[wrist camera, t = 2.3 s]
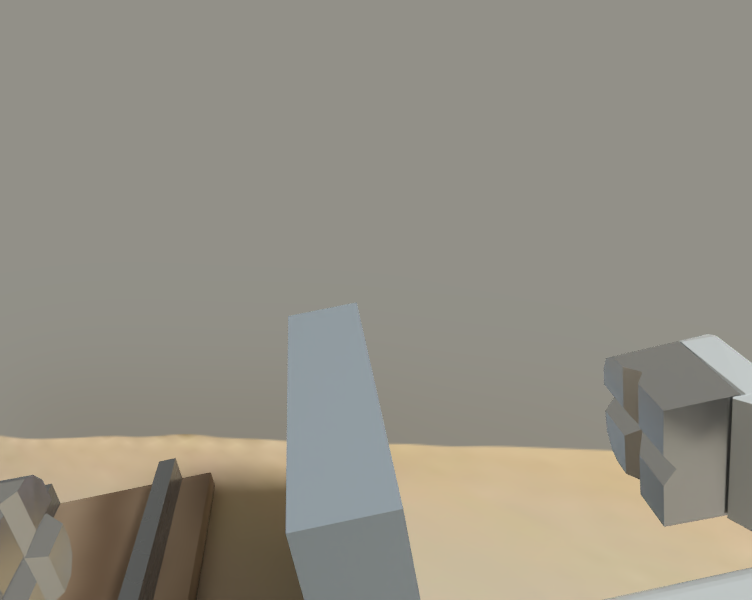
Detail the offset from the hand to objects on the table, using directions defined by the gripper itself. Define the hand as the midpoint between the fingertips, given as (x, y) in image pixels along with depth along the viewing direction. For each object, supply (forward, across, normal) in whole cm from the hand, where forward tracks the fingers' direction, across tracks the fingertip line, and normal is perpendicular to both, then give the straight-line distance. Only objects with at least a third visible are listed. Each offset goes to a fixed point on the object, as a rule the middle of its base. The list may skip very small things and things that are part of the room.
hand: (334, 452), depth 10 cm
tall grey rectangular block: (+16, -1, -20) cm, 25 cm away
